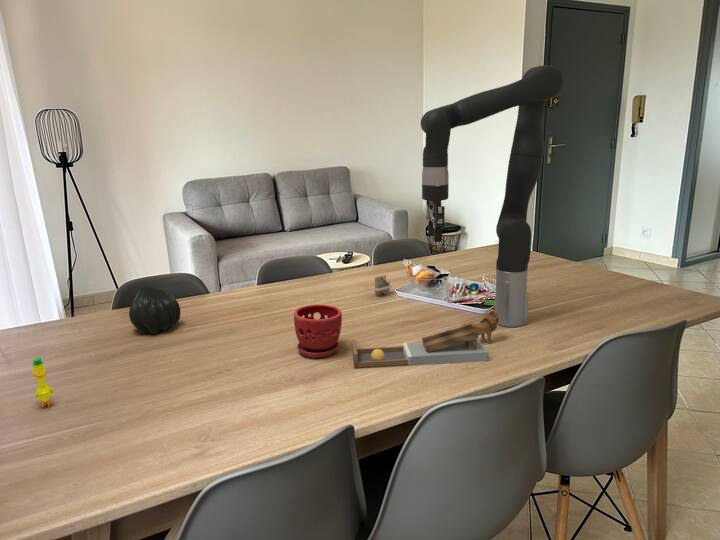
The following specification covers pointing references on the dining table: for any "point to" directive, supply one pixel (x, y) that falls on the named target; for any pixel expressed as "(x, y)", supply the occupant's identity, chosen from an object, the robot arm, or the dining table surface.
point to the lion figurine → (486, 325)
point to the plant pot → (317, 330)
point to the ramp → (452, 339)
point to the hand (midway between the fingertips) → (434, 238)
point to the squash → (154, 310)
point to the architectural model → (381, 285)
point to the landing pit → (392, 358)
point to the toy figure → (41, 382)
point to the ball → (377, 355)
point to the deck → (443, 354)
